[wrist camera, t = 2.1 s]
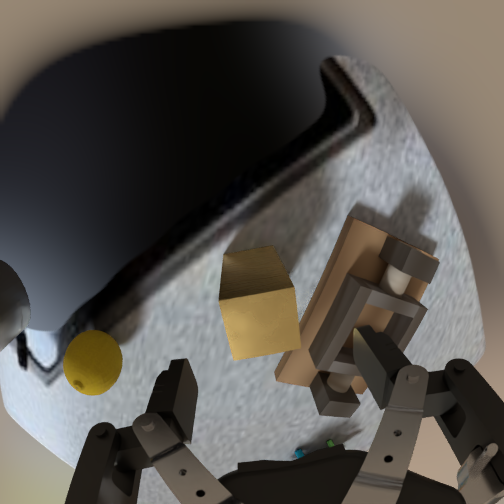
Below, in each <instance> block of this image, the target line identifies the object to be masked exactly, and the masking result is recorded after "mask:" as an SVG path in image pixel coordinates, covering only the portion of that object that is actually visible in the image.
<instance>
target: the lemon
mask: <svg viewBox="0 0 504 504" xmlns="http://www.w3.org/2000/svg"><path fill="white" fill-rule="evenodd" d="M122 360H123V358H122V353H121V349H120V347H119V345H118V343H117V342H116V341H115V340H114V339H113V338H112V337H111V336H110V335H108V334H107V333H105V332H102V331H99V330H88V331H85V332H83V333H81V334H79V335H78V336H77V337H75V339H74V340H73V341H72V342H71V343H70V344H69V346H68V348H67V351H66V353H65V356H64V361H63V369H64V373H65V376H66V378H67V380H68V382H69V383H70V384H71V386H72V387H73V388H74V389H76V390H77V391H79V392H81V393H83V394H86V395H100V394H102V393H104V392H106V391H107V390H109V389H110V388H111V387H112V386H113V384H114V383H115V382H116V381H117V379H118V377H119V375H120V372H121V369H122Z"/></svg>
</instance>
